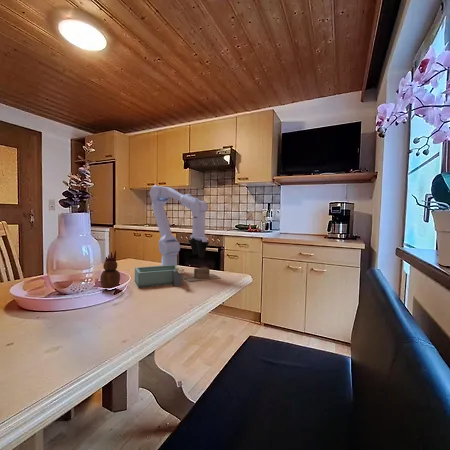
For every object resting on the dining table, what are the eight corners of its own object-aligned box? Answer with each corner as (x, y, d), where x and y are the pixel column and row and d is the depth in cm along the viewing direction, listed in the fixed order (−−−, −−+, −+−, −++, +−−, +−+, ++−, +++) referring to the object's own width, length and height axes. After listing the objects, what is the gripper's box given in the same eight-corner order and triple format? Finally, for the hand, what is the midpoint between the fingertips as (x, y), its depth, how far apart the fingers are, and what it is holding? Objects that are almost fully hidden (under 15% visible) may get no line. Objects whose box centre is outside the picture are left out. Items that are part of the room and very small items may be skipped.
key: (175, 270, 107) (175, 266, 107) (180, 269, 108) (180, 266, 108) (179, 273, 102) (179, 269, 102) (184, 272, 103) (184, 269, 103)
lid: (182, 279, 120) (183, 268, 120) (212, 275, 128) (212, 265, 127) (189, 283, 113) (189, 272, 113) (220, 279, 120) (220, 269, 120)
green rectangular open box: (134, 281, 112) (134, 267, 112) (175, 277, 120) (175, 264, 120) (139, 290, 100) (139, 274, 99) (184, 285, 108) (184, 270, 107)
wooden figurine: (122, 287, 102) (122, 250, 102) (114, 292, 97) (115, 252, 96) (106, 286, 103) (106, 249, 102) (97, 291, 97) (97, 251, 97)
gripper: (185, 225, 124) (184, 253, 125) (196, 227, 112) (196, 258, 112) (198, 225, 128) (198, 253, 128) (211, 227, 115) (210, 257, 116)
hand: (198, 255), depth 121 cm, fingers open, 7 cm apart
